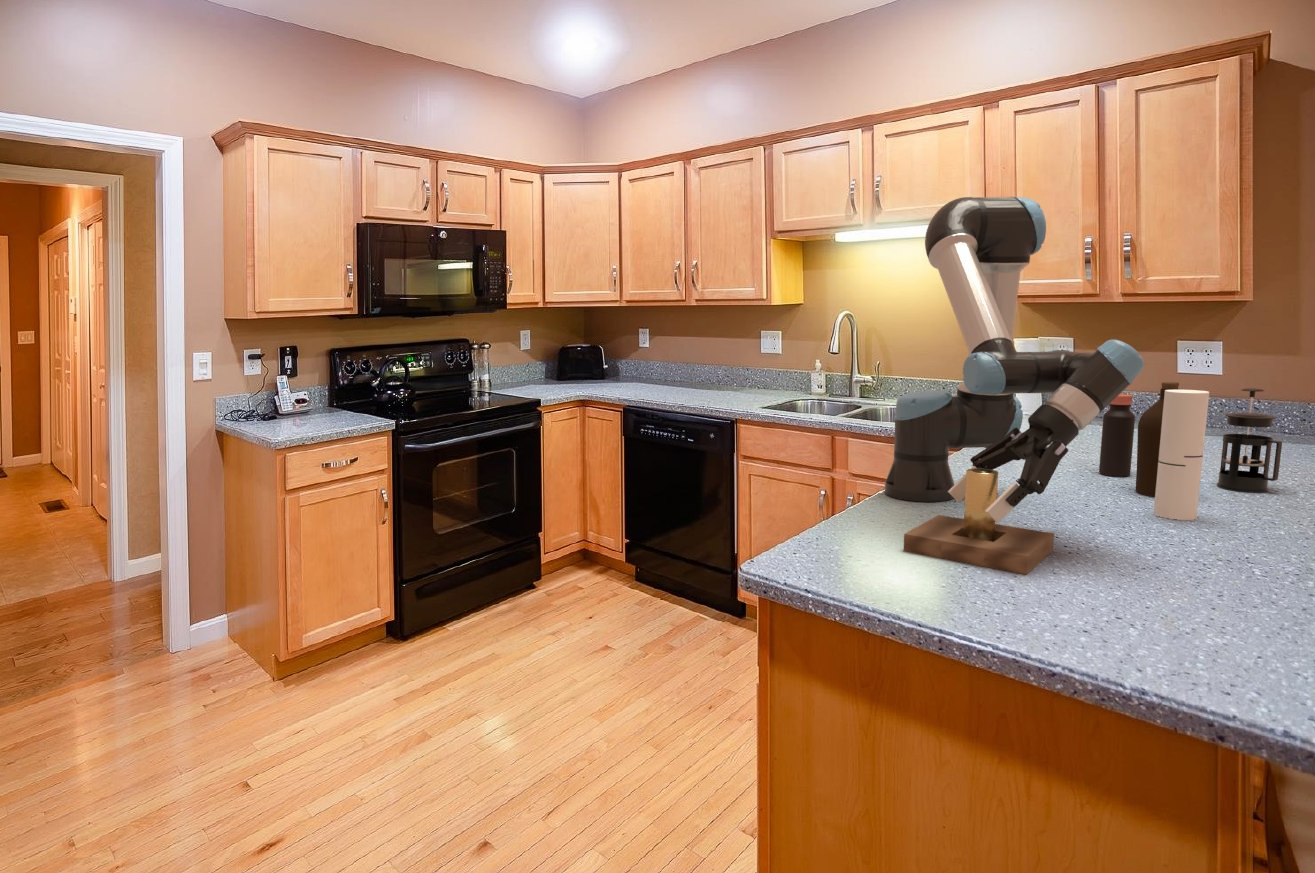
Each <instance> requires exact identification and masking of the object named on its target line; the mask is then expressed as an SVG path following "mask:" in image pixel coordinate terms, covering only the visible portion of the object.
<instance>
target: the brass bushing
mask: <svg viewBox="0 0 1315 873" xmlns="http://www.w3.org/2000/svg"><path fill="white" fill-rule="evenodd" d="M965 474H966V492H965V497H964V514H963V516H964V517H963V519H964V530H963V537H968V538H973V539H979V540H985V541H991V542H994V539H995V524H996V522H995V520H994V519H993V518H992V517H991V516H990V515H989V514H988V513H987V512H986V511H985V510H986V509H987V508H988V507H989V506H990V505H991V504H993V503H994V502H995V501H996V500H997V499H998V487H999V471H998V470H996V469H993V470H991V469H981V468H974V469H971V468H968V469H966V473H965Z"/></svg>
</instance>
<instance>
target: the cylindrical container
mask: <svg viewBox="0 0 1315 873" xmlns="http://www.w3.org/2000/svg"><path fill="white" fill-rule="evenodd" d="M1209 399H1210V391H1209V390H1207V391H1206V390H1197V389H1196V390H1195V389H1179V390H1165V395H1164V406H1163V417H1162V428H1161V439H1160V449H1159V461H1158V471H1157V482H1156V493H1155V497H1154V505H1153V515H1154V516H1156V517H1159V516H1160V518H1162V517H1164V518H1163V519H1167V518H1169V519H1168V520H1173V519H1177V520H1176V521H1194V519H1195V520H1197V518H1198V507H1199V498H1200V497H1199V496H1200V490H1201V489H1200V488H1201V487H1200V486H1201V478H1202V469H1203V468H1202V467H1203V458H1204V449H1205V448H1204V447H1205V439H1206V438H1205V436H1206V431H1207V430H1206V428H1207V421H1208V420H1207V418H1208V409H1209V401H1210V400H1209Z"/></svg>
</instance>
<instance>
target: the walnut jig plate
mask: <svg viewBox="0 0 1315 873" xmlns="http://www.w3.org/2000/svg"><path fill="white" fill-rule="evenodd" d="M963 530H964V518H960V517H954V516H948V515H941V514H937V515H936V516H934V517H932V518H931V519H929V520H927V521H925V522H923V523H921V524H920V525H918V526H916V527H914V528H912V529H911V530H909V531H907V532H905V533H904V534H903V551H905V552H909V553H914V554H919V555H925V556H930V557H934V558H940V559H945V560H950V561H953V562H960V563H966V564H971V565H976V566H981V567H987V568H990V569H991V568H992V569H995V570H1001V571H1006V572H1011V573H1016V574H1021V575H1025V576H1026V575H1028V574H1030V572H1031V571H1033V570H1034V568H1035V567H1037V566H1038V565H1039V564H1040V563H1041V562H1042V561H1043V560H1044V559H1046V558H1047V557H1048V555H1050V554H1051V552H1053V551H1054V542H1055V533H1054V532H1048V531H1042V530H1035V529H1029V528H1022V527H1016V526H1009V525H1004V524H999V523H995V539H994V542H991V541H985V540H979V539H973V538H968V537H963Z"/></svg>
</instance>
